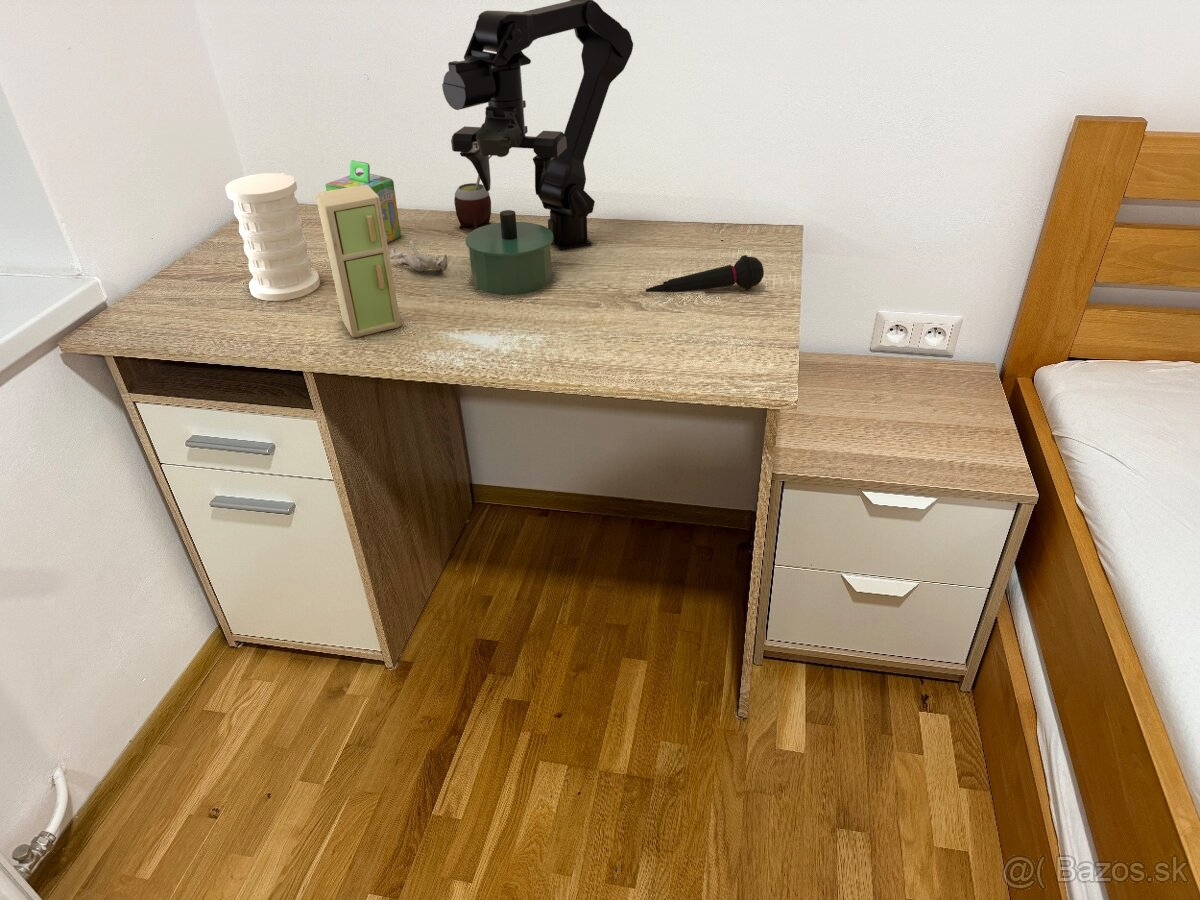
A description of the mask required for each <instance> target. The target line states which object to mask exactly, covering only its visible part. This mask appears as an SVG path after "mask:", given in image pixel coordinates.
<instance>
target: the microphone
mask: <svg viewBox="0 0 1200 900" xmlns="http://www.w3.org/2000/svg"><path fill="white" fill-rule="evenodd" d="M764 276H765V271H764V266H763V263H762V261H761V260H760V259H758V258H757V257H755V256H748V255H747V254H745V255H741V256H740V258H739V259H738V260H737V261H736V262H735V263H734V265H732V264H729V265H728V264H727V265H724V266H719V267H715V268H712V269H711V268H710V269H707V270H703V271H699V272H695V273H691V274H687V275H682V276H679V277H675V278H671V279H668V280H665V281H663V283H661V284H656V285H654V286H651V287H648V288H646V289H645V292H646V293H657V292H658V293H660V292H661V293H662V292H665V293H669V292H670V293H676V292H677V293H678V292H686V291H688V292H689V291H702V290H710V289H717V288H725V287H726V288H727V287H733V286H735V285H738V286H739V287H741V288H743V289H745V290H746V291H748V290H752V288H754V287H755V286H757V285H758V284H760V283H761V282H762V280H763V278H764Z"/></svg>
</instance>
